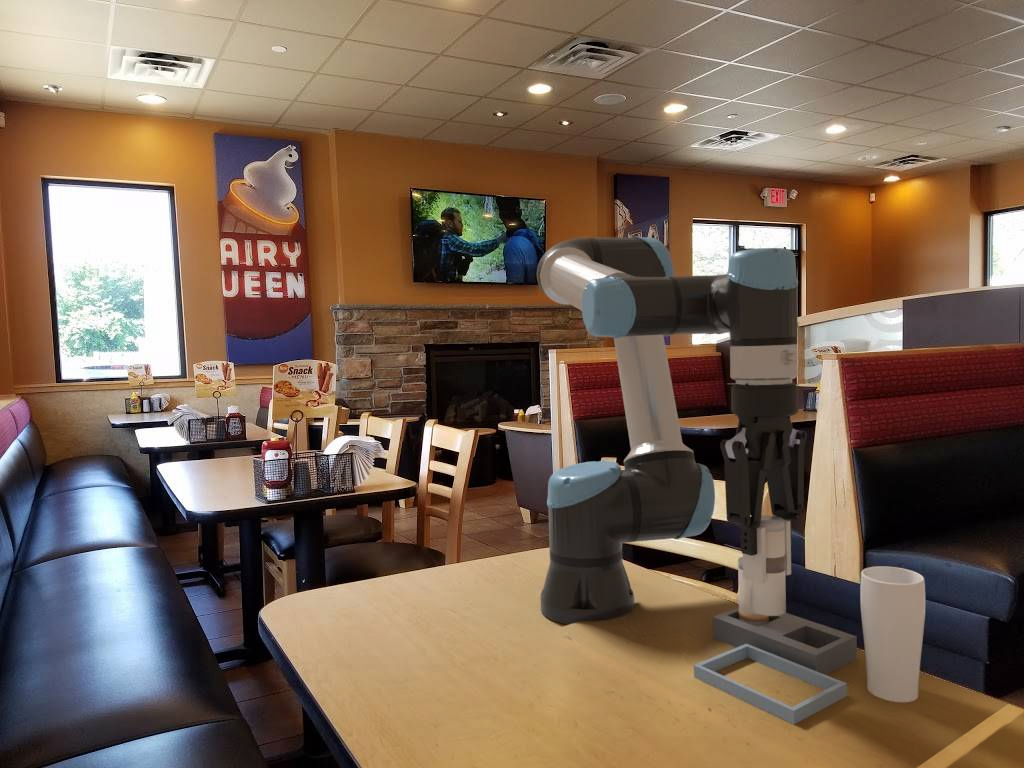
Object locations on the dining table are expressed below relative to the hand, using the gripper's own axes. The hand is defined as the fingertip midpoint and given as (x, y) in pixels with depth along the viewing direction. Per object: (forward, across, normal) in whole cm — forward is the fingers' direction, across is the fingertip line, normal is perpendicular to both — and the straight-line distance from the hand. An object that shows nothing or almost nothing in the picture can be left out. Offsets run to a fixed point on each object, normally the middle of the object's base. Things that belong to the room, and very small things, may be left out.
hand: (767, 575), depth 88 cm
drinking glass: (+15, +10, -9) cm, 21 cm away
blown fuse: (+4, 0, 0) cm, 4 cm away
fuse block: (+15, +11, +6) cm, 19 cm away
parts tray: (+15, 0, 0) cm, 15 cm away
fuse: (+14, +11, +10) cm, 20 cm away
